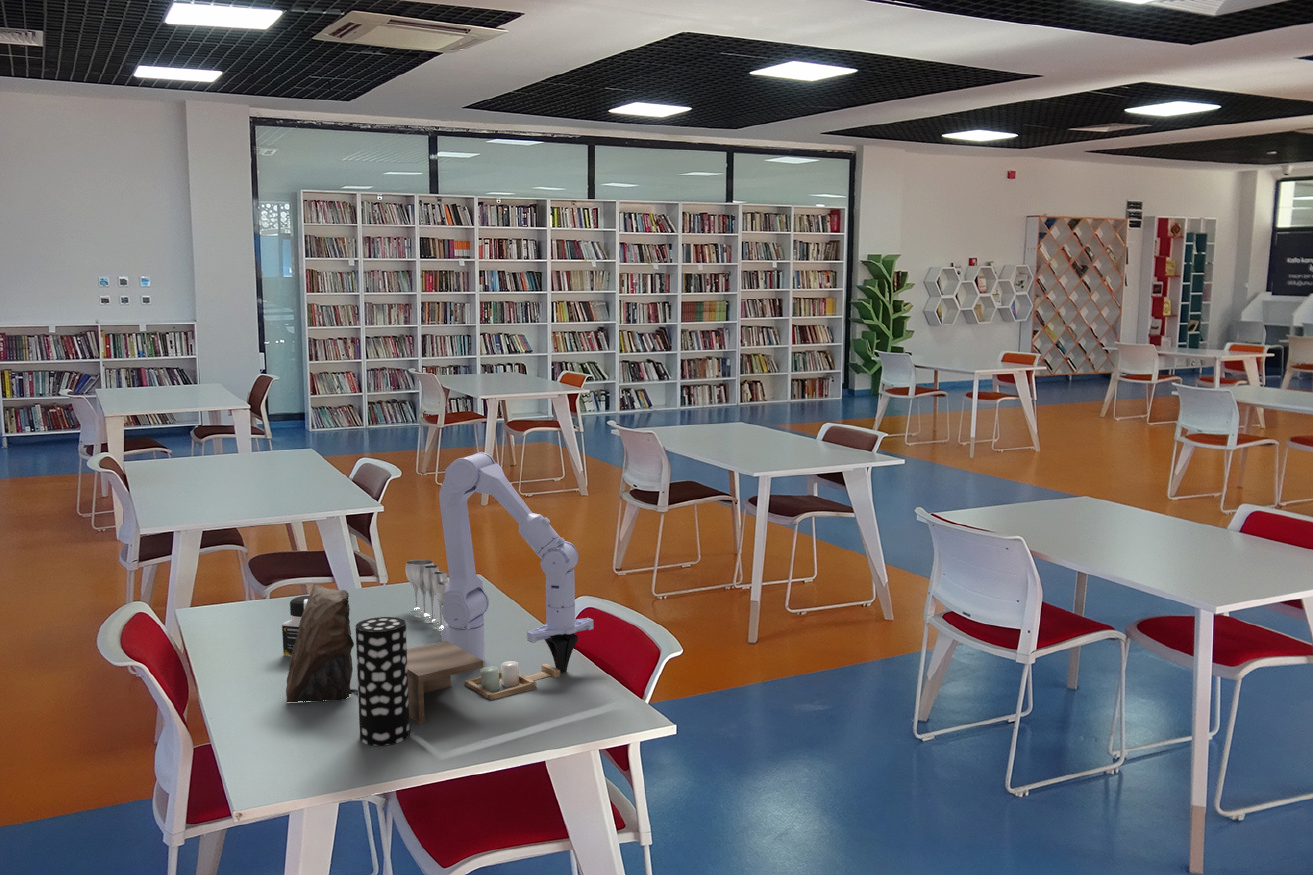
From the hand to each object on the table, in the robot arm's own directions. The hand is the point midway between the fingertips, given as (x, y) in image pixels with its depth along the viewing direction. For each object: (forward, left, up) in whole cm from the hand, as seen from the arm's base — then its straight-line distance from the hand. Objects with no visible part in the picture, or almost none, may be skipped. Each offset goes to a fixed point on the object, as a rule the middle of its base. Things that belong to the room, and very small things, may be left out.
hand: (561, 670), depth 211 cm
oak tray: (0, -10, -1) cm, 10 cm away
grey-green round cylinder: (0, -16, 0) cm, 16 cm away
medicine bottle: (-46, -35, -1) cm, 58 cm away
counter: (0, -27, -1) cm, 27 cm away
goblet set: (-49, -4, -2) cm, 49 cm away
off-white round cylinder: (0, -12, 0) cm, 12 cm away
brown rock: (-21, -42, -1) cm, 47 cm away
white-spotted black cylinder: (+6, -40, -1) cm, 41 cm away
